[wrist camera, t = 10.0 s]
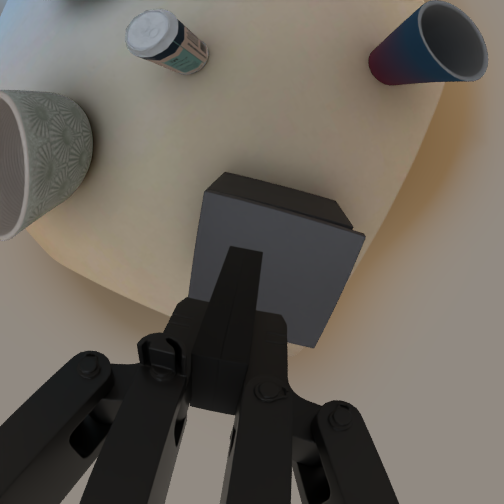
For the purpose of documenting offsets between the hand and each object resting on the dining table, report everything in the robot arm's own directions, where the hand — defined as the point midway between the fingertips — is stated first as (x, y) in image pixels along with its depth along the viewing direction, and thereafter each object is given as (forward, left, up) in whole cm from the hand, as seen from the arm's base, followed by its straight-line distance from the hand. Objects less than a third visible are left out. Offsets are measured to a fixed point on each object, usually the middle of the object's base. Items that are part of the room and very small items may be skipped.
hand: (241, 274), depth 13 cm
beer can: (+12, -13, -22) cm, 28 cm away
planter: (+29, 0, -22) cm, 36 cm away
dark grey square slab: (-3, +7, -12) cm, 14 cm away
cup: (-11, -18, -22) cm, 30 cm away
